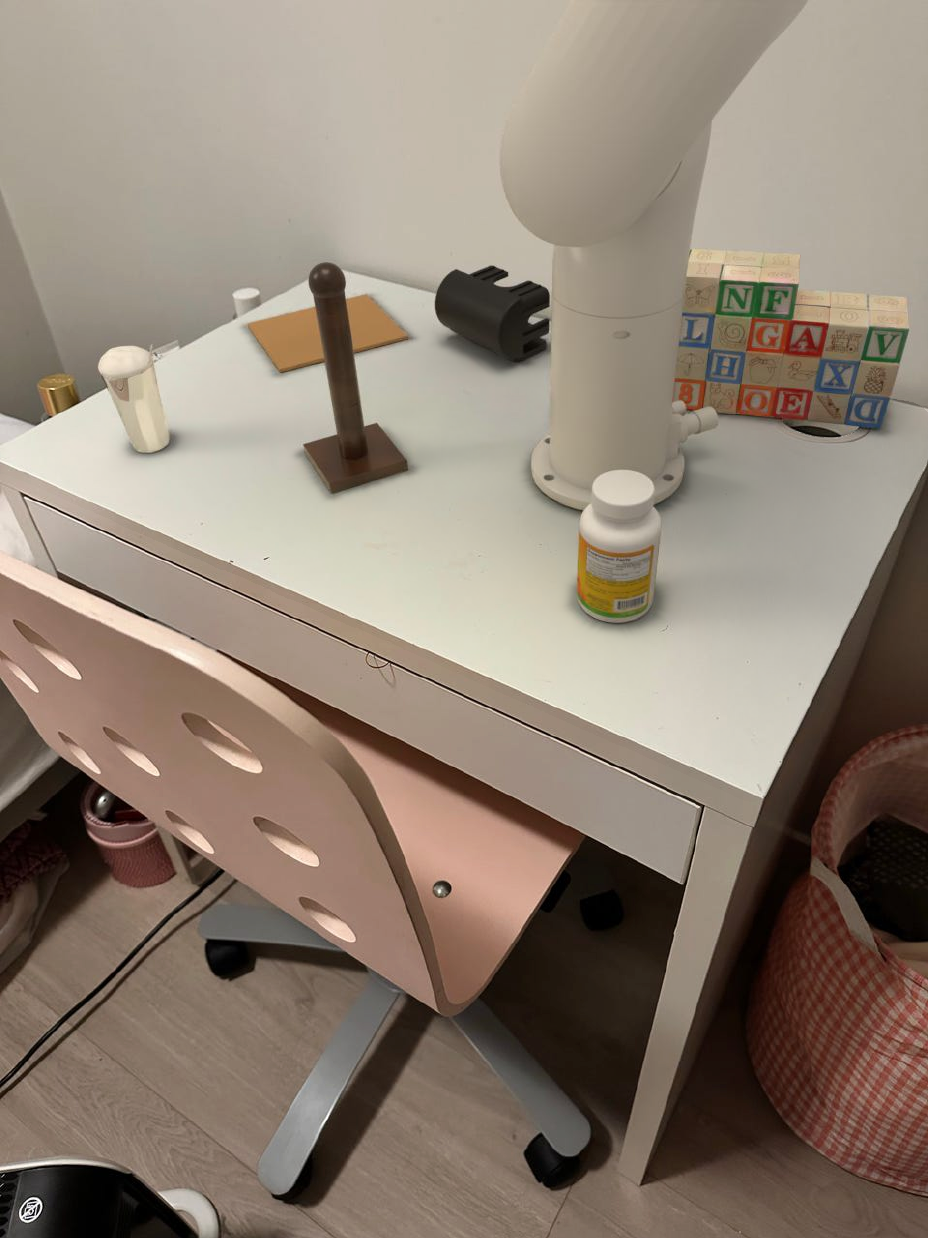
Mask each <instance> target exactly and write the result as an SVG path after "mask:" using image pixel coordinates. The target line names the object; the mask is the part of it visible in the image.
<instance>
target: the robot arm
mask: <svg viewBox="0 0 928 1238" xmlns="http://www.w3.org/2000/svg"><path fill="white" fill-rule="evenodd" d="M808 2H809V0H570V1H569V2H568V4H567V6H566V7H565V10H564V12H563V13H562V15H561V17H560V19H559V20H558V23H557V24H556V26H555V27H554V29H553V31H552V33H551V35H550V36H549V38H548V40H547V42H546V43H545V44H544V45H545V46H543V47H544V48H543V49H542V51H541V52H540V54H539V56H538V58H537V60H536V62H535V64H534V65H533V67H532V69H531V71H530V73H529V74H528V76H527V78H526V79H525V81H524V83H523V85H522V87H521V88H520V90H519V92H518V94H517V96H516V98H515V100H514V102H513V103H512V107H511V109H510V111H509V114H508V116H507V118H506V122H505V124H504V127H503V130H502V131H503V132H502V135H501V141H500V148H499V173H500V181H501V186H502V189H503V192H504V196H505V198H506V202H507V203H508V205H509V207H510V209H511V211H512V213H513V215H514V216H515V217H516V219H517V220H518V221H519V223H521V225H522V226H523V227H524V228H525V229H526V230H527V231H528V232H529V233H531V234H532V235H533V236H535V237H536V238H538V239H540V240H542V241H544V242H546V243H548V244H551V245H553V249H552V260H551V262H552V264H551V266H552V267H551V268H552V269H551V304H550V305H551V306H550V307H551V308H550V311H551V315H550V316H551V317H550V323H551V324H550V401H549V403H550V405H549V407H550V408H549V409H550V410H549V414H550V417H549V433H548V434H547V435H545V436H544V437H543V438H541V439H540V440H539V441H538V443H537V444H536V446H535V447H534V449H533V451H532V453H531V458H530V459H531V461H530V466H531V467H530V470H531V476H532V479H533V481H534V483H535V485H536V486H537V487H538V489H540V490H541V492H542V493H544V494H545V495H546V496H548V497H549V498H550V499H552V500H554V501H555V502H557V503H560V504H561V505H564V506H566V507H570V508H573V509H575V510H579V511H584V509H585V508H586V507H587V506H588V505H589V504H590V503H591V495H592V485H593V483H594V481H595V479H596V478H598V477H599V476H600V475H602V474H604V473H606V472H609V471H614V470H631V471H636V472H639V473H641V474H644V475H645V476H647V477H648V478H649V479H650V480H651V481H652V482H653V484H654V488H655V492H654V505H657V504H659V503H661V502H663V501H665V500H666V499H667V498H669V497H670V496H672V495H673V494H674V492H676V490H677V489H679V487H680V486H681V483H682V482H683V479H684V472H685V457H684V454H683V451H682V449H681V448H680V447H679V445H681V444H683V443H685V442H686V441H687V440H688V437H689V436H693V435H698V434H703V433H705V432H707V431H711V430H714V429H716V428H717V427H718V425H719V416H718V412H716V411H715V409H714V408H713V407H710V406H708V407H704V408H701V409H698V410H691V411H690V412H689V413H687V409H686V405H685V403H684V402H683V401H681V400H679V401H675V402H672V400H673V391H674V382H675V373H676V364H677V355H678V346H679V337H680V329H681V320H682V311H683V302H684V294H685V288H686V279H687V270H688V263H689V253H690V249H691V245H692V239H693V231H694V224H695V219H696V213H697V207H698V202H699V198H700V192H701V187H702V182H703V178H704V172H705V169H706V164H707V163H706V162H707V159H708V152H709V148H710V142H711V141H710V140H711V132H712V124H713V122H712V121H713V120H714V119H715V117H716V116H717V114H718V113H719V112H720V110H721V109H722V108H723V107H724V106H725V104H726V103H727V102H728V100H729V99H730V98H731V96H732V95H733V94H734V92H735V91H736V90H737V88H738V87H739V86H740V84H741V83H742V82H743V80H744V79H745V78H746V77H747V75H748V74H749V72H750V71H751V70H752V69H753V67H754V66H755V64H757V62H758V61H759V60H760V58H761V57H762V56H763V55H764V53H765V52H766V51H767V50H768V49H769V47H770V46H771V45H772V44H773V43H774V42H775V41H776V40H777V39H779V37H780V36H781V35H782V34H783V33H784V32H785V31H786V30H787V29H788V28H789V27H790V26H791V24H792V23H793V22H794V21H795V19H796V18H797V17H798V16H799V14H800V13H801V12H802V11H803V9H805V6H806V5H807V4H808Z"/></svg>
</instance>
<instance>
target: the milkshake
mask: <svg viewBox="0 0 928 1238" xmlns="http://www.w3.org/2000/svg"><path fill="white" fill-rule="evenodd" d="M153 347H154V341H152V342H151V343H150V345H149V351H148V350H147V349H144V348H142V347H139V346H136V345H123V346H116V347H112V348H110V349H108V350H107V351H106V352H105V353H104V354H103V355H102V356H101V357H100V359H99V362H98V365H97V369H98V372H99V374H100V376H101V378H102V381H103V382H104V384H105V387H106V389H107V390H108V393H109V395H110V397H111V399H112V402H113V404H114V406H115V409H116V411H117V413H118V417H119V418H120V420H121V422H122V425H123V427H124V429H125V431H126V433H127V436H128V438H129V441H130V443H131V445H132V448H134V450H135V451H137V452H138V453H145V454H152V453H154V452H159V451H162V450H163V449H165V448H166V447H167V446H169V443H170V440H171V439H170V438H171V437H170V432H169V428H168V424H167V419H166V415H165V410H164V406H163V402H162V398H161V394H160V389H159V385H158V378H157V373H156V368H155V364H154V363H155V362H154V358H153Z"/></svg>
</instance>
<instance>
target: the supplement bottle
mask: <svg viewBox="0 0 928 1238" xmlns="http://www.w3.org/2000/svg"><path fill="white" fill-rule="evenodd" d="M654 492H655V488H654V484H653V482H652V481H651V480H650V479H649V478H648V477H647V476H645V475H644V474H641V473H639V472H636V471H631V470H614V471H609V472H606V473H604V474H602V475H600V476H599V477H598V478H596V479H595V481H594V483H593V485H592V495H591V503H590V504H589V505H588V506H587V507H586V508H585V509H584V510H582V513H581V515H580V518H579V525H578V551H577V572H576V573H577V574H576V575H577V576H576V578H577V579H576V598H577V602H578V604H579V606H580V608H581V609H582V610H583V611H584V612H585V613H586V614H587V615H589V616H591V617H592V618H594V619H596V620H599V621H601V622H608V623H617V624H619V623H628V622H632V621H635V620H638V619H640V618H641V617H643V616H644V615H646V614H647V613H648V611H649V610H650V609H651V607H652V605H653V602H654V597H655V590H656V582H657V581H656V579H657V572H658V571H657V569H658V562H659V555H660V554H659V553H660V545H661V535H662V518H661V516H660V513H659V512H658V510H657V509H656V507H654V505H655V504H654Z"/></svg>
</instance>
